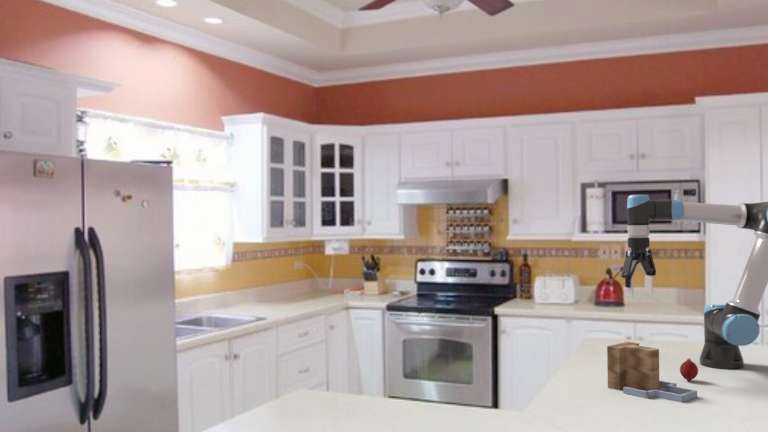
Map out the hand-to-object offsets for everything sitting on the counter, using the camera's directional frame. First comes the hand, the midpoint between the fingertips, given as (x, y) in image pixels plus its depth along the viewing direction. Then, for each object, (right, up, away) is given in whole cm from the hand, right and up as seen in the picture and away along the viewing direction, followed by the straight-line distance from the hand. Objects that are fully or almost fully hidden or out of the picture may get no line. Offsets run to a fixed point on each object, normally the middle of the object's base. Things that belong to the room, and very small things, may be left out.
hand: (639, 294), depth 259 cm
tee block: (-9, -29, -22) cm, 37 cm away
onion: (+12, -29, -13) cm, 34 cm away
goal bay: (-3, -29, -30) cm, 42 cm away
